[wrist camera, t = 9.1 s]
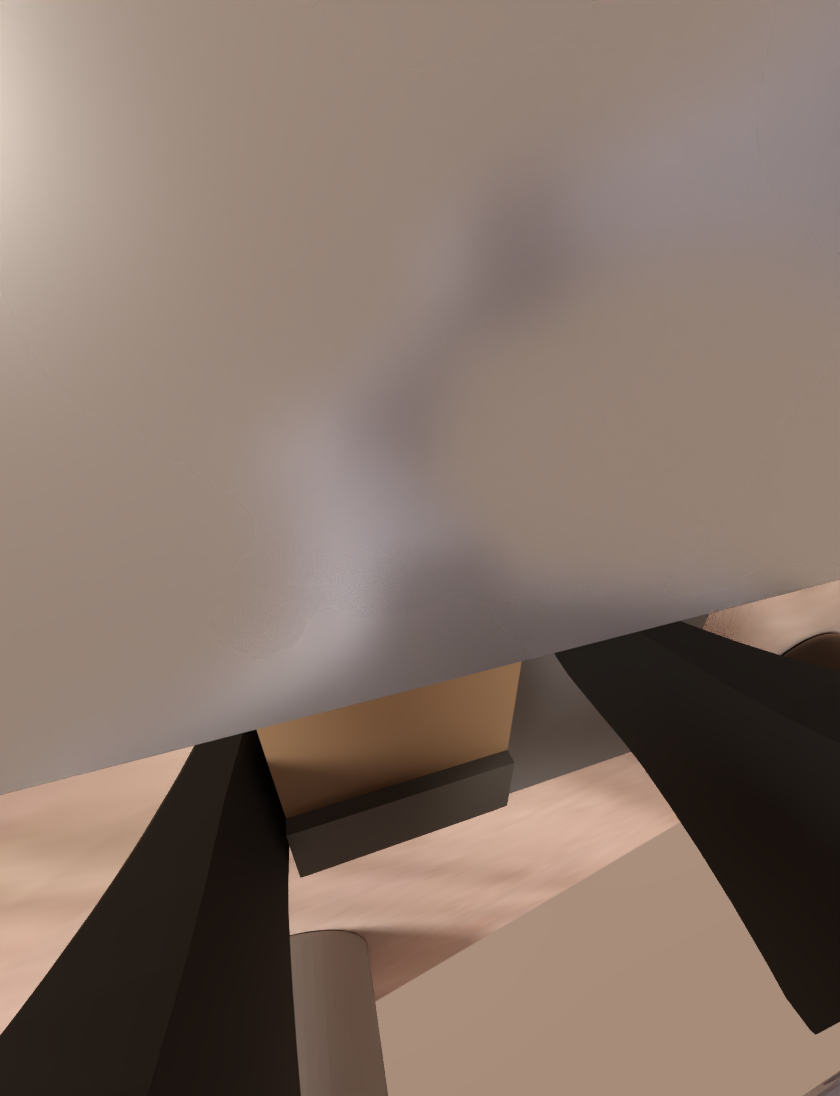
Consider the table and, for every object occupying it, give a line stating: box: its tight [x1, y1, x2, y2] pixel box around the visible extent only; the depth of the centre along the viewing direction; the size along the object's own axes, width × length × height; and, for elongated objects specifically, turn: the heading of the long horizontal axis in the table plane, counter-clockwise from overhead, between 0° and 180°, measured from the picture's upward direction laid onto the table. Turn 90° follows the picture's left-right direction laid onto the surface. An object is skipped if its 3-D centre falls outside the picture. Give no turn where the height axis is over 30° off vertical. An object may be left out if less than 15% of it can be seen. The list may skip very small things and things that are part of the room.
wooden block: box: [256, 661, 522, 878], centre depth 7 cm, size 4×14×5 cm, turn 1°
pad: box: [508, 613, 709, 793], centre depth 14 cm, size 9×15×1 cm, turn 2°
